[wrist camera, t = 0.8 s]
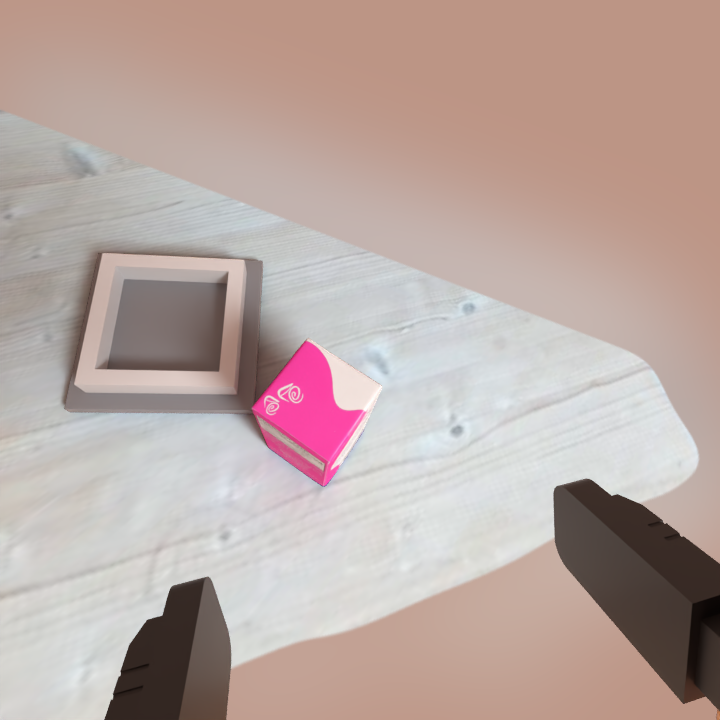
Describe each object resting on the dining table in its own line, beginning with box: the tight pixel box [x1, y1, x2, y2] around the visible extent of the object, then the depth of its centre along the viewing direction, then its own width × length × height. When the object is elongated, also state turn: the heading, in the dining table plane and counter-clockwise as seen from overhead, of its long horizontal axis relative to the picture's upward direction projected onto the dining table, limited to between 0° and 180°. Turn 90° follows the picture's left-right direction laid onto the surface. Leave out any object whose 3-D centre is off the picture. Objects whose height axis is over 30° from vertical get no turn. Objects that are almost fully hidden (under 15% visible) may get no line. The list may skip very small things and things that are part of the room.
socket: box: [64, 253, 263, 414], centre depth 38 cm, size 14×14×3 cm
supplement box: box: [252, 338, 382, 487], centre depth 32 cm, size 6×6×12 cm
